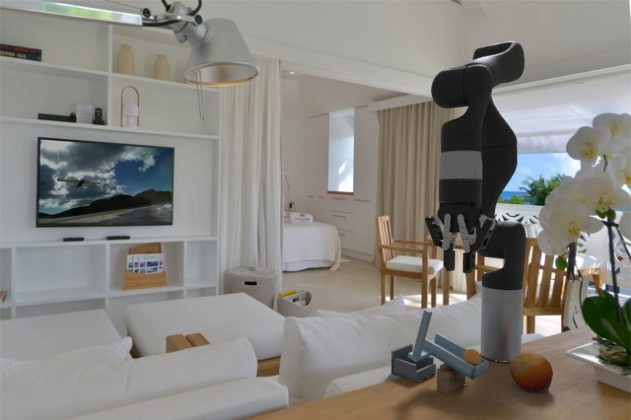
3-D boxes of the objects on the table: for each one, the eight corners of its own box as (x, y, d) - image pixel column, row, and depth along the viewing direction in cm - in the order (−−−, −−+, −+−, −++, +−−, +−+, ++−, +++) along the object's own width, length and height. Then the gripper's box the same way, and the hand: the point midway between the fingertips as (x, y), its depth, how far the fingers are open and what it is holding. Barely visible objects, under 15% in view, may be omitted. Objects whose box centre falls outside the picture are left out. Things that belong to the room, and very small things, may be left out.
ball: (466, 360, 89) (469, 344, 88) (483, 368, 86) (486, 351, 86) (458, 365, 86) (460, 348, 86) (474, 372, 84) (477, 355, 83)
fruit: (569, 391, 84) (546, 354, 85) (531, 408, 86) (509, 372, 86) (555, 375, 92) (534, 341, 93) (520, 391, 94) (500, 358, 94)
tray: (410, 365, 101) (410, 343, 101) (435, 373, 96) (436, 351, 96) (391, 373, 96) (391, 350, 96) (417, 382, 91) (417, 359, 91)
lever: (435, 342, 95) (446, 299, 93) (486, 372, 87) (500, 325, 85) (404, 354, 88) (416, 307, 85) (457, 388, 79) (472, 337, 77)
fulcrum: (454, 380, 93) (454, 354, 93) (465, 383, 91) (466, 357, 91) (436, 389, 88) (436, 362, 88) (447, 394, 86) (448, 366, 86)
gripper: (507, 177, 77) (505, 274, 78) (437, 179, 88) (436, 265, 88) (487, 175, 72) (485, 279, 73) (415, 178, 83) (414, 269, 83)
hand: (458, 271), depth 80 cm, fingers open, 3 cm apart
